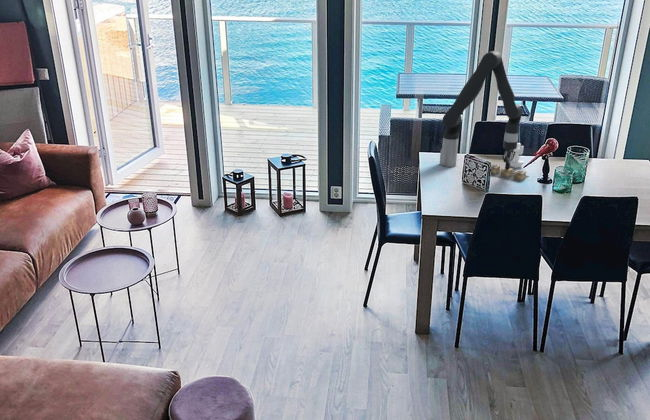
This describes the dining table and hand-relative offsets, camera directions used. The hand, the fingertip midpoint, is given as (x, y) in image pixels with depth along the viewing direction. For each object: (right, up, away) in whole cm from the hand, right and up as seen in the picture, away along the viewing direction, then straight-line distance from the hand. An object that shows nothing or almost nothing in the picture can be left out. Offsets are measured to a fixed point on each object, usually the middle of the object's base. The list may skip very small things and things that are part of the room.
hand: (507, 168), depth 357 cm
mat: (0, -4, +2) cm, 4 cm away
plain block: (0, -4, +2) cm, 4 cm away
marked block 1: (-6, -2, +6) cm, 9 cm away
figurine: (+10, +2, +17) cm, 20 cm away
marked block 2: (+6, -6, -3) cm, 9 cm away
